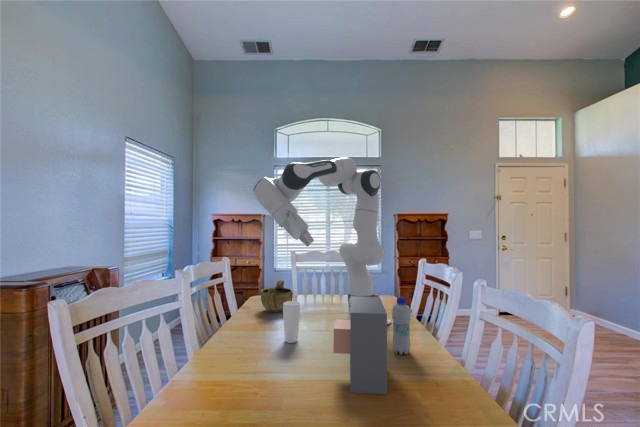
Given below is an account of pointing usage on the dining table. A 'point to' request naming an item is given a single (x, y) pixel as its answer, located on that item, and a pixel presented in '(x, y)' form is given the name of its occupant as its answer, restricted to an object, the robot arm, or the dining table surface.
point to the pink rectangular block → (342, 336)
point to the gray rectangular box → (368, 345)
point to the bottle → (401, 326)
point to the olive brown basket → (276, 297)
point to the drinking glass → (291, 320)
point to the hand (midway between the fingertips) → (310, 243)
